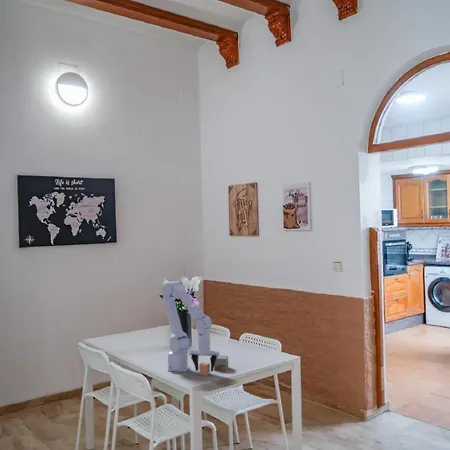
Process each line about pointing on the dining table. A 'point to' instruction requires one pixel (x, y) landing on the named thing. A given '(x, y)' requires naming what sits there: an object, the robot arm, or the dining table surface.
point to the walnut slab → (221, 367)
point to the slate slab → (221, 360)
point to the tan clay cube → (204, 369)
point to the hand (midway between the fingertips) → (204, 370)
